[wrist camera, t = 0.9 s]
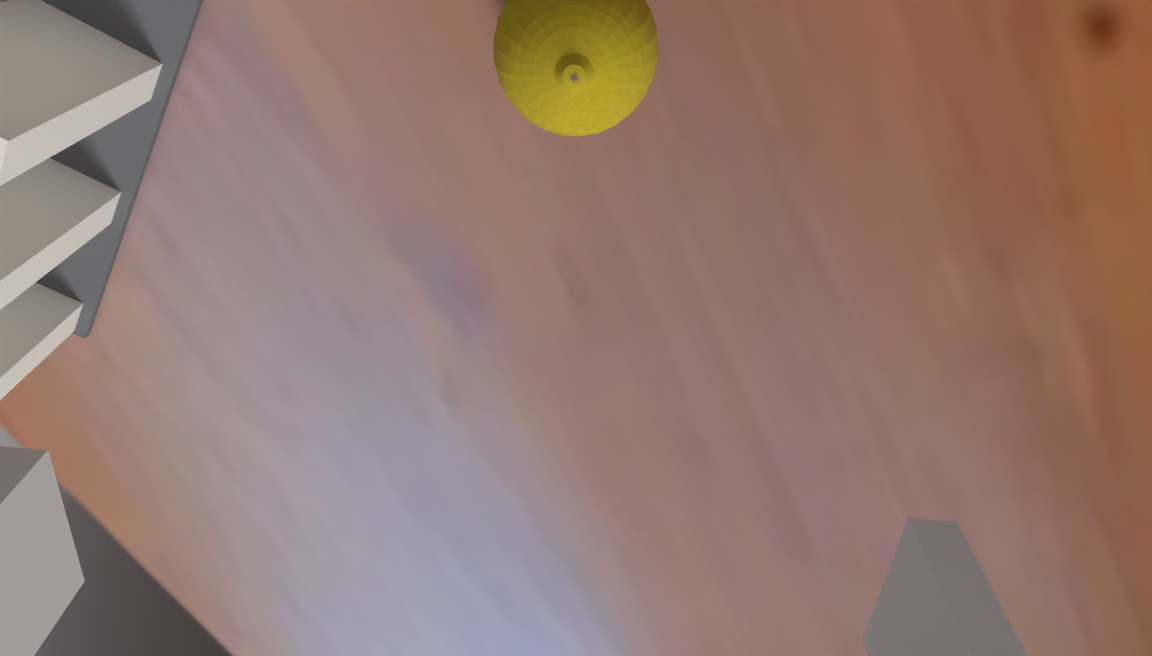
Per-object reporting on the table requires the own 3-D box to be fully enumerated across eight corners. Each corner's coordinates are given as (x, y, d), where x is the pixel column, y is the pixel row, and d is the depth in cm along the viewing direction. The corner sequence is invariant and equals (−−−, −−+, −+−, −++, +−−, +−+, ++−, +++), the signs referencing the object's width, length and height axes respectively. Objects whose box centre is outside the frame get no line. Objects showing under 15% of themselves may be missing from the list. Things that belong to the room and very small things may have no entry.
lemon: (479, 56, 33) (450, 112, 26) (547, -82, 31) (535, -62, 24) (604, 126, 34) (608, 197, 27) (678, -3, 32) (704, 39, 25)
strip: (109, -376, 27) (103, -379, 26) (290, -261, 28) (287, -262, 28) (-47, 274, 38) (-53, 278, 37) (89, 334, 39) (84, 338, 39)
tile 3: (30, -6, 32) (-183, 49, 23) (162, 63, 33) (8, 141, 24) (20, 33, 32) (-189, 101, 24) (150, 99, 34) (-4, 188, 25)
